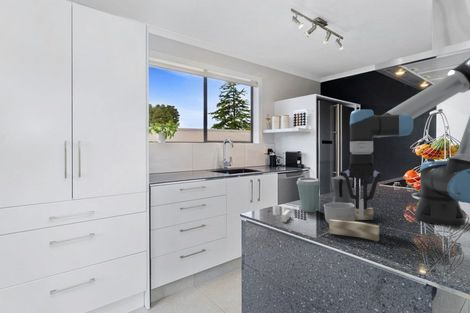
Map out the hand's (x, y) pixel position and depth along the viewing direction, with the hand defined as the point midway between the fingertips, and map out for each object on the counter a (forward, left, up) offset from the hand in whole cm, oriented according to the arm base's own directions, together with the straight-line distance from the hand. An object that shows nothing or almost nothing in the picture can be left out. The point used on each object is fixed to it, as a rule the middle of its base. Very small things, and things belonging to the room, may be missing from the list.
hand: (361, 217), depth 92 cm
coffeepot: (+7, -21, -4) cm, 23 cm away
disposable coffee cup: (+21, -17, -4) cm, 27 cm away
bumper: (+28, 0, -4) cm, 28 cm away
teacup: (+6, 0, -4) cm, 7 cm away
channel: (+3, 0, -4) cm, 4 cm away
